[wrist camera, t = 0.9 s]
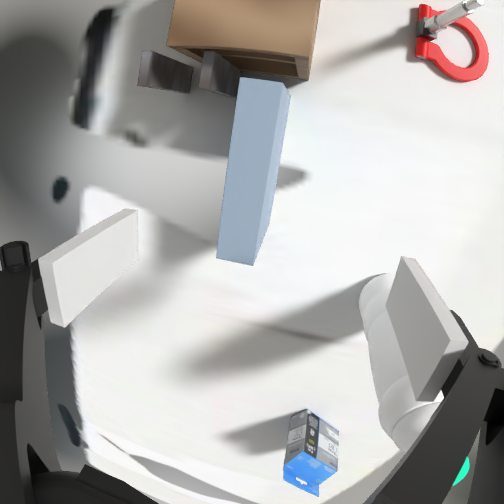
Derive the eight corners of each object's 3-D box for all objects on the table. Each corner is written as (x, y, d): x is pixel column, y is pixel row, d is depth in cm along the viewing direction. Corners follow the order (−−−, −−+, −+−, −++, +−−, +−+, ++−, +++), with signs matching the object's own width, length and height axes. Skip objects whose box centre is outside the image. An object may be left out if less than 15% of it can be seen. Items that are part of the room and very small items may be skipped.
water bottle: (391, 328, 38) (432, 507, 15) (347, 307, 38) (365, 502, 15) (423, 285, 35) (504, 459, 12) (378, 260, 35) (445, 451, 12)
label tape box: (339, 431, 47) (339, 491, 36) (320, 439, 49) (317, 498, 37) (308, 407, 46) (303, 472, 34) (288, 417, 47) (280, 479, 36)
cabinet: (207, -38, 24) (166, -88, 13) (324, -31, 23) (329, -89, 12) (182, 93, 31) (124, 83, 20) (303, 107, 30) (302, 98, 19)
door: (260, 91, 30) (238, 77, 20) (290, 96, 30) (282, 82, 20) (241, 218, 36) (214, 257, 26) (269, 223, 36) (252, 265, 26)
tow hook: (485, 30, 22) (416, -1, 23) (551, 10, 10) (468, -43, 11) (481, 92, 26) (411, 63, 26) (553, 92, 14) (470, 42, 14)
